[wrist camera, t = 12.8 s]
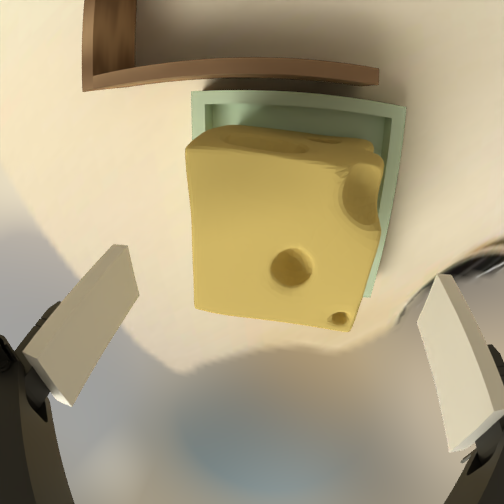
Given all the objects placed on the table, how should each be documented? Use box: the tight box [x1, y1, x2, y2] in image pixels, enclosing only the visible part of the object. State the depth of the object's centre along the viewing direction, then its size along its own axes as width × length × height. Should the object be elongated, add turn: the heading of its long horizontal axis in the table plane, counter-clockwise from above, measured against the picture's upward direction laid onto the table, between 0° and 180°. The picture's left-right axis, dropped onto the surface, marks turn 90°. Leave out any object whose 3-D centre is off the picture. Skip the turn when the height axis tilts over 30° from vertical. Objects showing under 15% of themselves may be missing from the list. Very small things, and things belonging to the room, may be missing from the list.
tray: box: [191, 90, 406, 297], centre depth 23 cm, size 16×15×2 cm
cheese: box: [185, 125, 384, 332], centre depth 20 cm, size 10×11×10 cm
